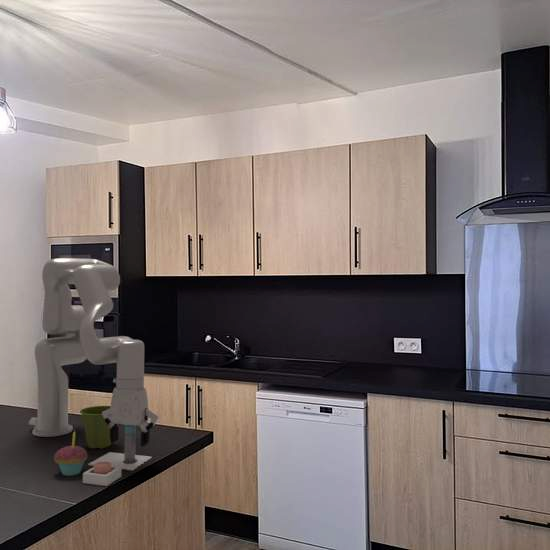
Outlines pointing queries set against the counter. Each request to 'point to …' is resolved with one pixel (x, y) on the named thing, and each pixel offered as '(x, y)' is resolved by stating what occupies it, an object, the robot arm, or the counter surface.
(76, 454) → the cupcake
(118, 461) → the paper
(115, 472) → the button housing
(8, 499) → the counter surface
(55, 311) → the robot arm
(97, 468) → the button
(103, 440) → the plant pot
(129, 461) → the marker
